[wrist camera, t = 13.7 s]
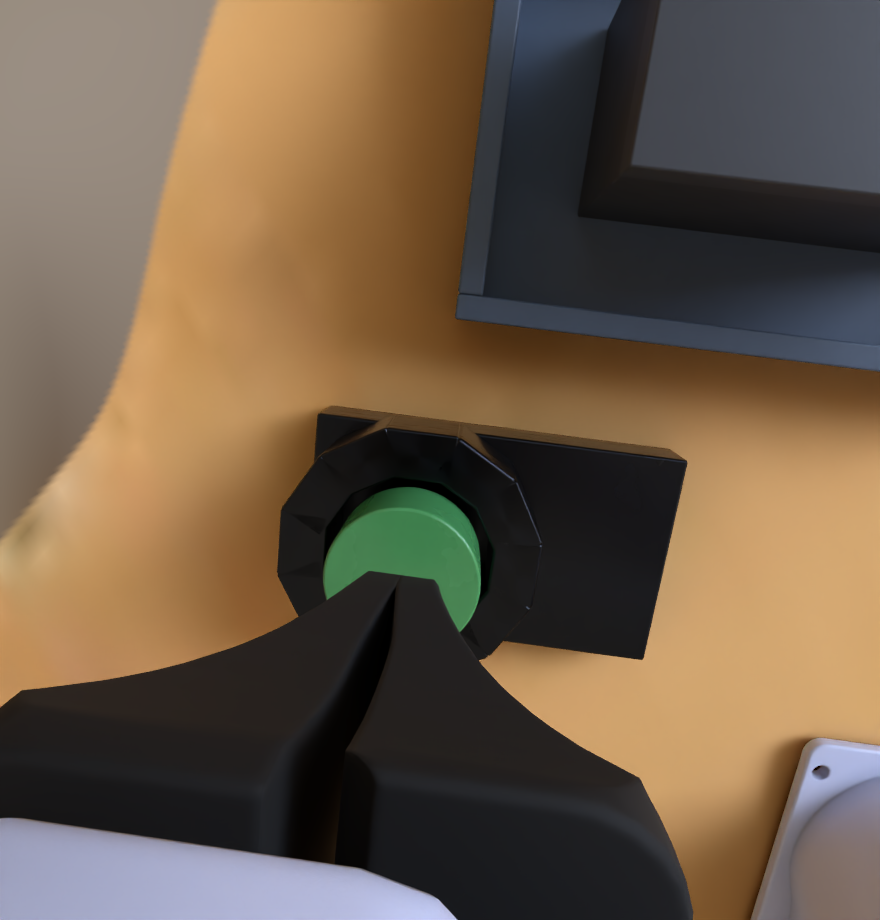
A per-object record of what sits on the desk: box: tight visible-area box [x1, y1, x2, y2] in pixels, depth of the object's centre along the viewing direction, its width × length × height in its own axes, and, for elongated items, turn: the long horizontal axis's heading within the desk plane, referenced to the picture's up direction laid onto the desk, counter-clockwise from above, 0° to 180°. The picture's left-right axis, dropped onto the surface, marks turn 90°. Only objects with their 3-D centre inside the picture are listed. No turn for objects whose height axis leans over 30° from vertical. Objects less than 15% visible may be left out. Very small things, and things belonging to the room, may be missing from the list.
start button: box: [323, 487, 481, 632], centre depth 15 cm, size 4×4×2 cm
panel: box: [277, 406, 687, 661], centre depth 17 cm, size 6×10×4 cm, turn 83°
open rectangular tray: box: [455, 0, 880, 372], centre depth 14 cm, size 10×15×2 cm
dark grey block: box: [577, 0, 880, 253], centre depth 12 cm, size 5×10×6 cm, turn 83°
